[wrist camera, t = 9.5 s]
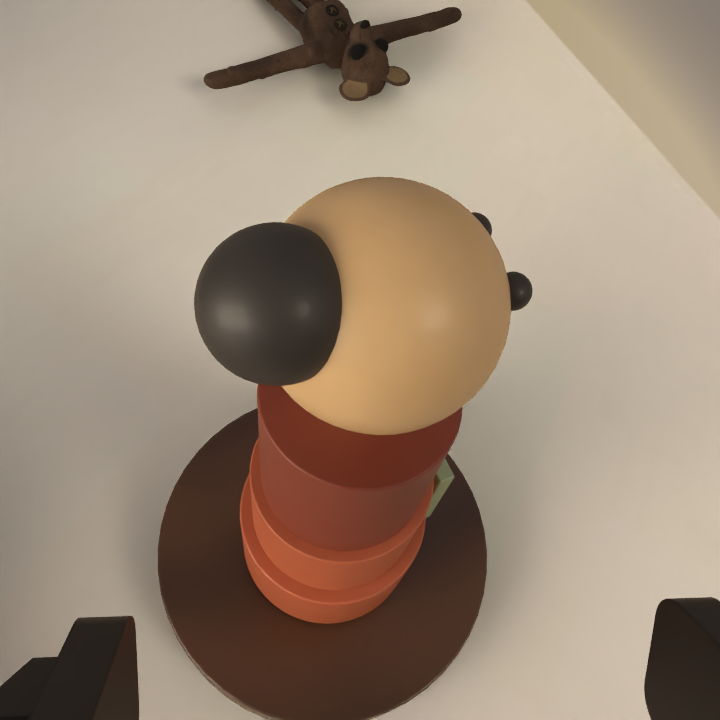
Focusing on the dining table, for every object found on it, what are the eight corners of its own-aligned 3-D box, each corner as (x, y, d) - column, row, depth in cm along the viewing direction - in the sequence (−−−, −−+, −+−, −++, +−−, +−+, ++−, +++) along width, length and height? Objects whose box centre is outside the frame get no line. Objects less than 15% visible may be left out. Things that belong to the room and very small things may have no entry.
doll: (268, 657, 22) (262, 465, 8) (213, 494, 25) (134, 131, 11) (437, 583, 24) (672, 319, 10) (368, 438, 26) (477, 67, 12)
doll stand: (137, 459, 27) (128, 439, 26) (406, 386, 31) (414, 364, 29) (207, 786, 22) (201, 788, 20) (525, 656, 25) (544, 648, 23)
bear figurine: (380, -89, 46) (514, 6, 40) (375, -24, 50) (498, 73, 43) (129, -40, 40) (238, 84, 33) (144, 31, 44) (245, 156, 37)
